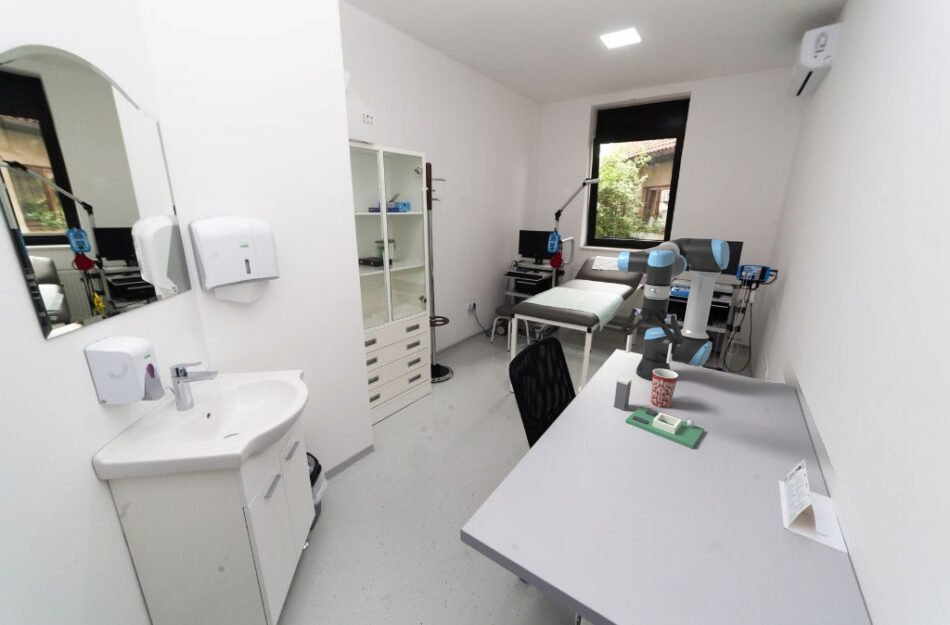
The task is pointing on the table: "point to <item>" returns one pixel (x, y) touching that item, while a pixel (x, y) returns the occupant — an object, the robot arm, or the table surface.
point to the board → (666, 426)
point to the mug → (663, 387)
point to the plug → (622, 393)
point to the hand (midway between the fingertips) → (647, 356)
